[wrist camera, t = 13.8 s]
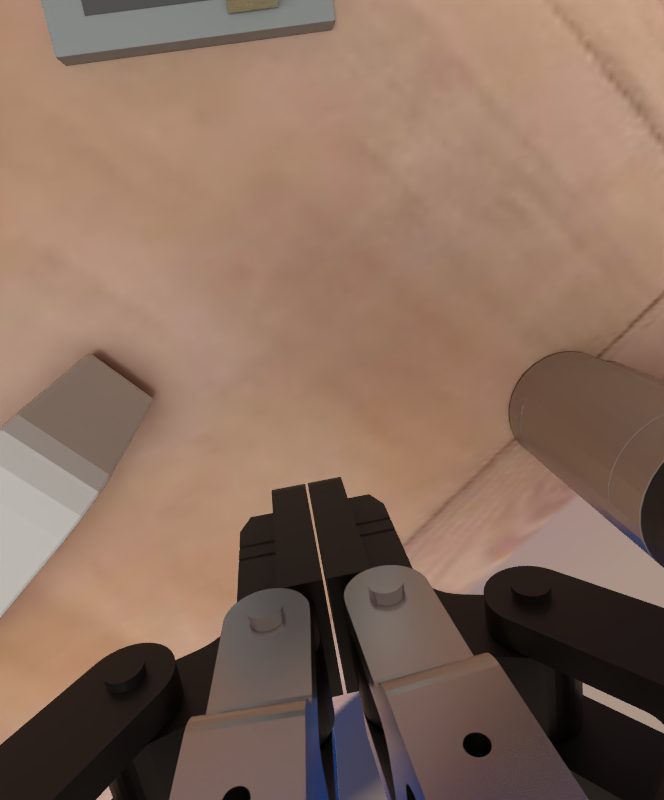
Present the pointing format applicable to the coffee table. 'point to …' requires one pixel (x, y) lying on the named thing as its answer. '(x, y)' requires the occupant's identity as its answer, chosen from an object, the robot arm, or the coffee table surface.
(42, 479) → the rounded white slab
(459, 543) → the coffee table surface
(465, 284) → the coffee table surface
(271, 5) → the gold rectangular block
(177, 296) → the coffee table surface
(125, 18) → the control board
